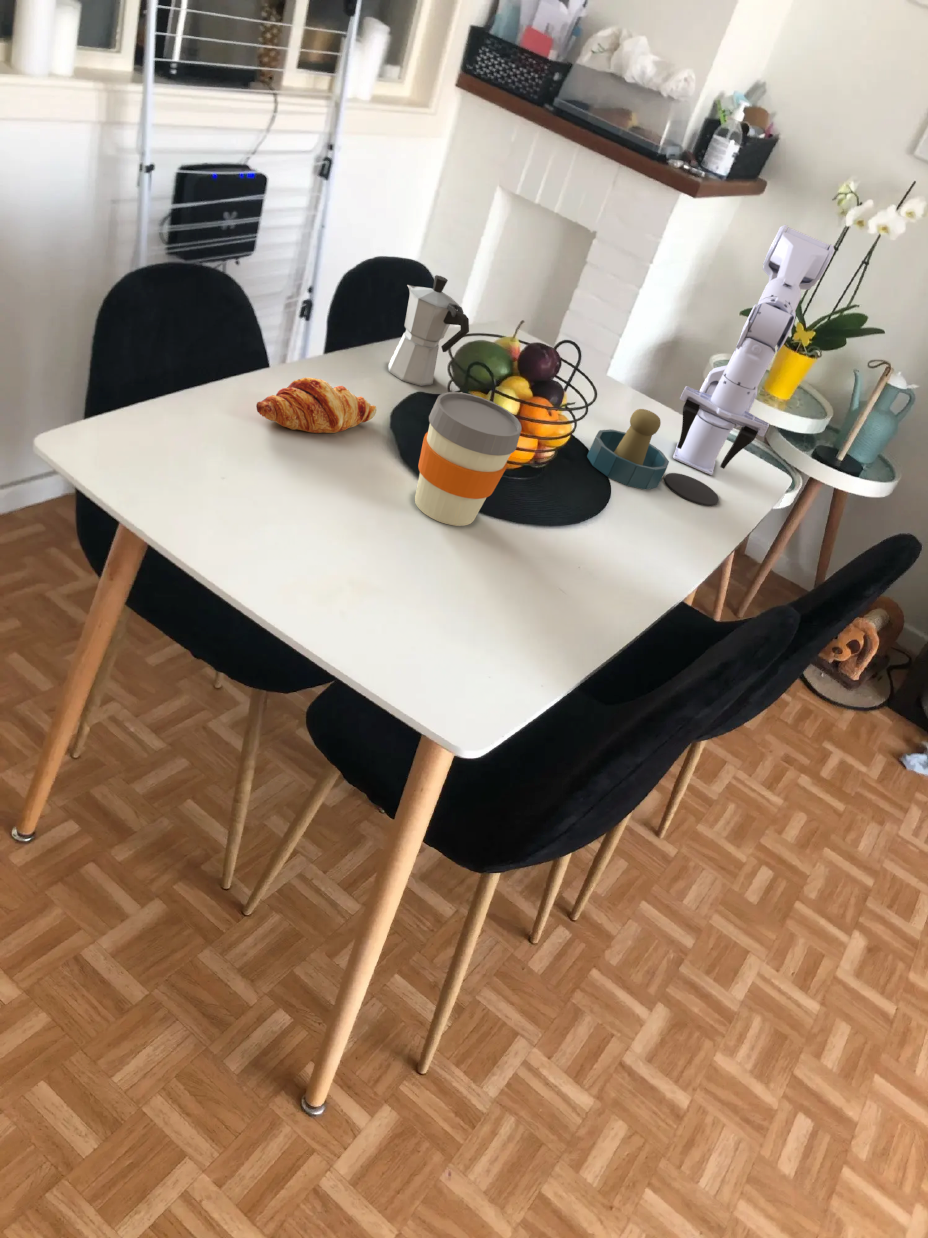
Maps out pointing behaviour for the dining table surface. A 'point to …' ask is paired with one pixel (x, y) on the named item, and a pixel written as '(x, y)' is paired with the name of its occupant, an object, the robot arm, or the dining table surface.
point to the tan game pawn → (638, 436)
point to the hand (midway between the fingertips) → (701, 456)
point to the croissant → (316, 407)
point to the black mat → (691, 489)
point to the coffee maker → (426, 332)
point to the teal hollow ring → (626, 462)
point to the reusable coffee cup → (463, 456)
